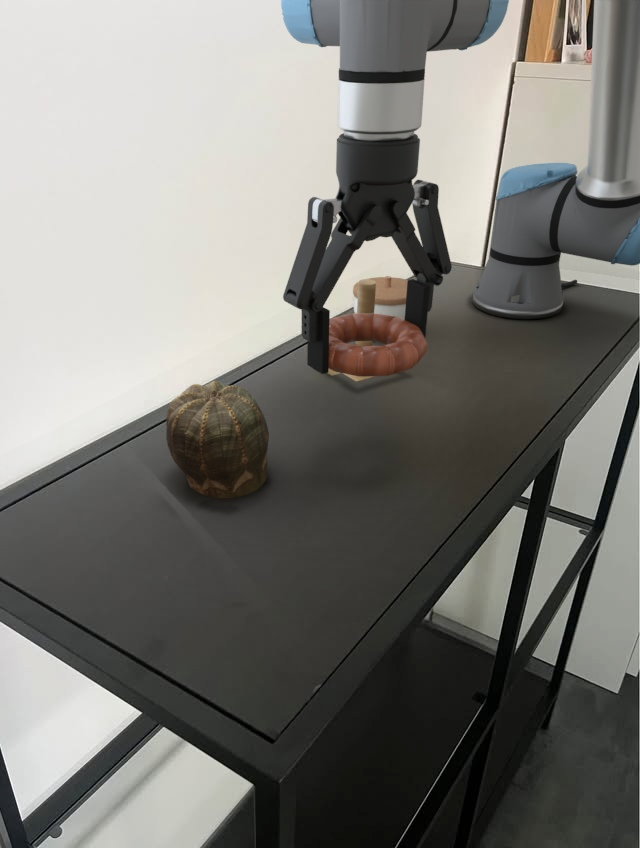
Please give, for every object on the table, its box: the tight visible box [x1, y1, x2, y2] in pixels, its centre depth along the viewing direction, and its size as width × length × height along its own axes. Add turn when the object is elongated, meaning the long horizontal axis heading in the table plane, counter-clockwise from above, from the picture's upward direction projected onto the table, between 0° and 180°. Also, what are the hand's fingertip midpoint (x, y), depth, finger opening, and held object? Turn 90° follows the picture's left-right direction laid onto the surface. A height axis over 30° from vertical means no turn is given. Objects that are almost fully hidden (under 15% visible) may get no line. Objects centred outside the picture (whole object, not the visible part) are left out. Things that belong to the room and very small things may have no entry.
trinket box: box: [352, 275, 409, 320], centre depth 122 cm, size 11×11×9 cm
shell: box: [165, 380, 270, 499], centre depth 83 cm, size 11×11×12 cm
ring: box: [328, 313, 428, 377], centre depth 80 cm, size 12×12×3 cm
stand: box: [327, 278, 376, 382], centre depth 108 cm, size 9×9×14 cm
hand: (367, 354), depth 81 cm, fingers closed on ring, 12 cm apart
